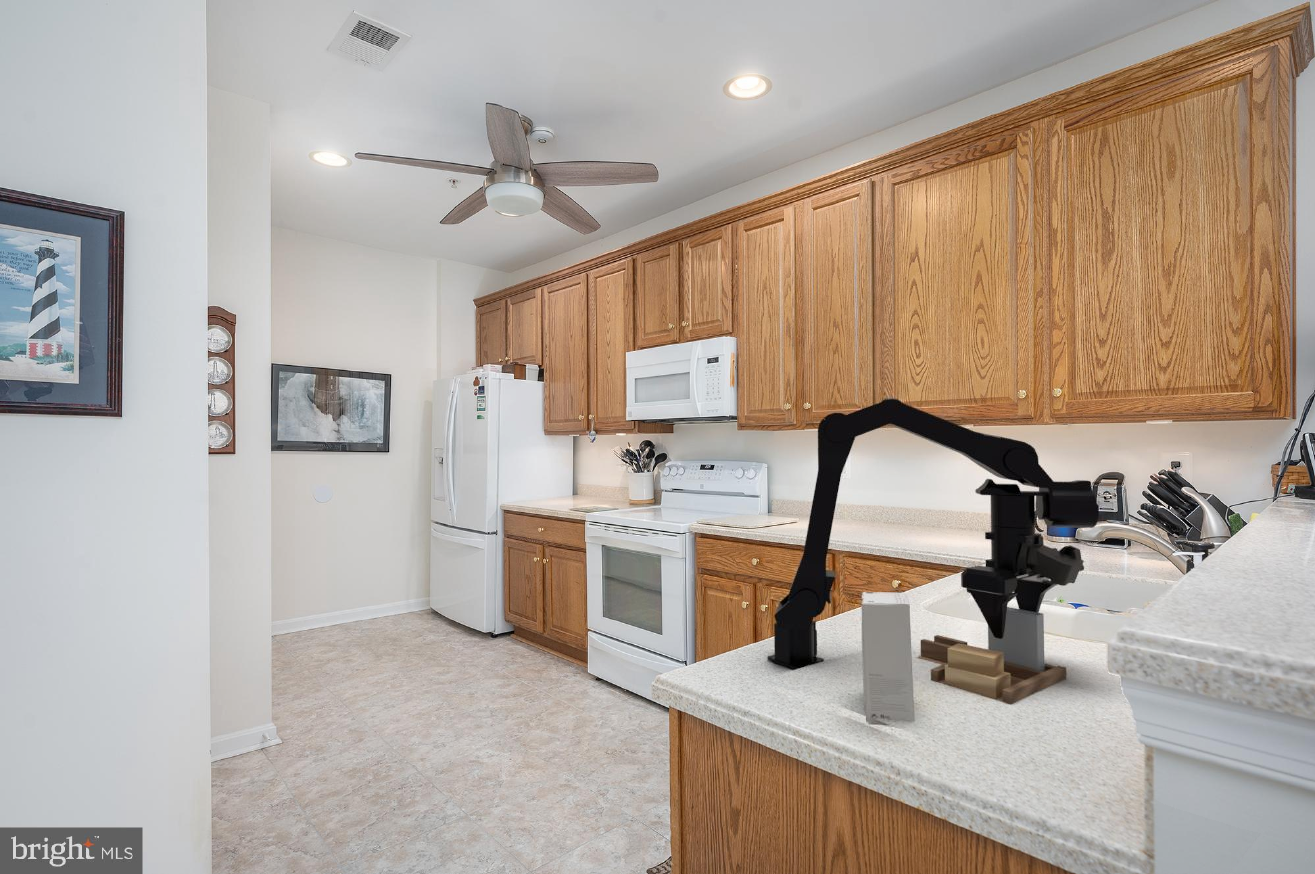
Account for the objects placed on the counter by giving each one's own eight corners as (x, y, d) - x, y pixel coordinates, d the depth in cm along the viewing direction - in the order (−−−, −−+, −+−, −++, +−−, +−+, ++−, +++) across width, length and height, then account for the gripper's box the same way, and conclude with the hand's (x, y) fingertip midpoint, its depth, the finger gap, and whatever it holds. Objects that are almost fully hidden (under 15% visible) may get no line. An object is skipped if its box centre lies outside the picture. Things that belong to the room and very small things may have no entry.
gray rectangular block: (1038, 679, 91) (1036, 615, 92) (988, 666, 97) (987, 606, 97) (1044, 676, 93) (1043, 613, 93) (995, 664, 98) (994, 604, 99)
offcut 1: (994, 677, 85) (993, 658, 85) (947, 666, 90) (947, 648, 90) (1003, 670, 88) (1003, 652, 88) (958, 660, 92) (958, 643, 92)
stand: (946, 672, 98) (946, 648, 98) (916, 663, 102) (916, 641, 102) (971, 663, 102) (971, 640, 102) (941, 655, 106) (941, 633, 106)
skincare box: (915, 729, 78) (913, 605, 78) (862, 723, 79) (860, 601, 80) (910, 703, 86) (908, 590, 86) (862, 699, 87) (861, 588, 88)
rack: (1010, 711, 83) (1010, 691, 83) (931, 686, 92) (930, 668, 92) (1066, 685, 92) (1066, 667, 92) (989, 664, 101) (988, 648, 101)
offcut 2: (995, 698, 85) (995, 679, 85) (945, 683, 90) (944, 665, 90) (1010, 691, 87) (1010, 673, 87) (960, 677, 93) (960, 659, 93)
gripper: (1041, 536, 83) (1043, 658, 83) (1101, 526, 94) (1103, 634, 94) (958, 528, 92) (959, 638, 92) (1021, 520, 103) (1023, 618, 103)
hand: (1014, 632), depth 95 cm, fingers open, 9 cm apart
